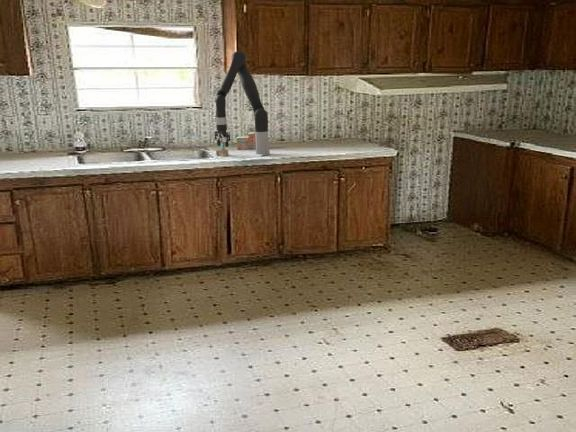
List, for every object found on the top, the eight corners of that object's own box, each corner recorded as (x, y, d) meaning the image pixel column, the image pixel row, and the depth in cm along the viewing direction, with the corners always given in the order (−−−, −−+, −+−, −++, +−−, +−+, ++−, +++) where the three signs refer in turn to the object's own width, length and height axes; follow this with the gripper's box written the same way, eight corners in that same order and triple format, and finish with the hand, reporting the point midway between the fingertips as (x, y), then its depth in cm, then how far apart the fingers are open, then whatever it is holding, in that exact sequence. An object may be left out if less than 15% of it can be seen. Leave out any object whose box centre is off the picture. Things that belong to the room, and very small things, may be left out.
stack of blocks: (237, 149, 429) (236, 133, 426) (237, 148, 435) (236, 132, 432) (264, 148, 430) (264, 133, 427) (264, 147, 436) (264, 131, 433)
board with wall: (223, 155, 405) (223, 149, 403) (231, 157, 399) (231, 150, 398) (216, 157, 400) (215, 150, 398) (224, 158, 394) (223, 151, 393)
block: (223, 154, 403) (223, 149, 402) (228, 155, 400) (228, 149, 398) (218, 155, 399) (217, 150, 398) (222, 156, 396) (222, 150, 395)
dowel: (223, 155, 401) (222, 143, 398) (225, 155, 399) (225, 143, 397) (221, 155, 399) (220, 143, 397) (223, 156, 398) (222, 143, 395)
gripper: (232, 123, 391) (233, 146, 395) (218, 122, 400) (220, 144, 405) (224, 124, 386) (225, 148, 390) (210, 123, 395) (212, 146, 400)
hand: (222, 146), depth 397 cm, fingers open, 8 cm apart
